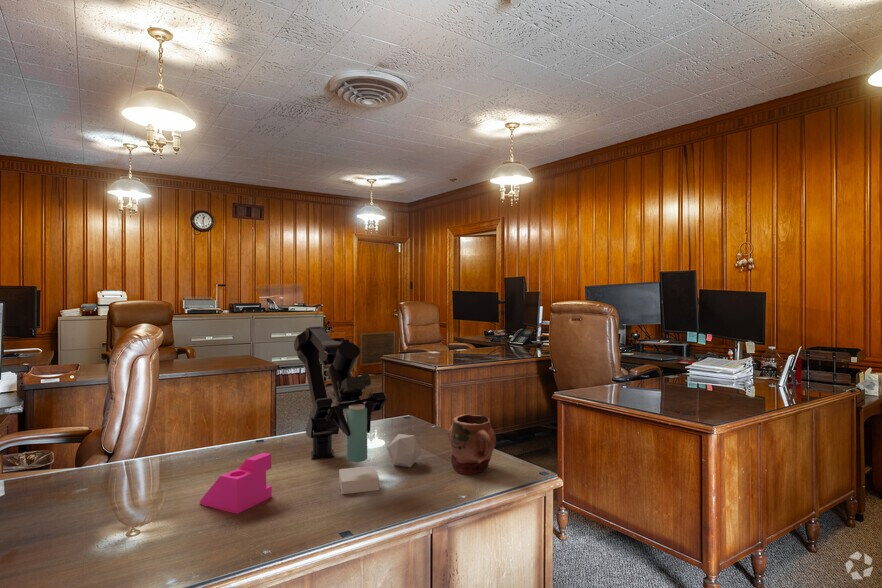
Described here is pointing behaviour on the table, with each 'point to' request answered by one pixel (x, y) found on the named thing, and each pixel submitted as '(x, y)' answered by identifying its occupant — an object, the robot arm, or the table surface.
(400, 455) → the die
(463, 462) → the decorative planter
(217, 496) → the bracket
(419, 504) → the table surface
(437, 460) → the table surface
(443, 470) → the table surface
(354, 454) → the thermos
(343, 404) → the robot arm
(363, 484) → the block
